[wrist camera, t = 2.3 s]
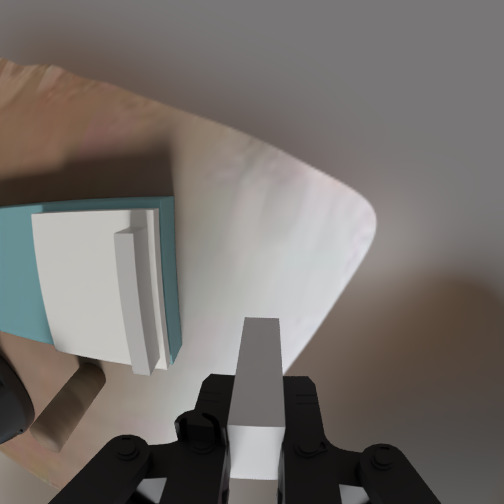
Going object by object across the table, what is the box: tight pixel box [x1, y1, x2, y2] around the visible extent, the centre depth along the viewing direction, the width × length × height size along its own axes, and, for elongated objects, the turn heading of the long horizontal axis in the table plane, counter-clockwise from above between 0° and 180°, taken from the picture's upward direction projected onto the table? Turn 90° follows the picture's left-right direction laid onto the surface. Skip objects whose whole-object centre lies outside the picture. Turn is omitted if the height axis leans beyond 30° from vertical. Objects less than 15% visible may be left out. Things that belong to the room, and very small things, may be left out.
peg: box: [30, 363, 106, 453], centre depth 21 cm, size 3×3×10 cm
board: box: [0, 196, 182, 364], centre depth 21 cm, size 20×12×3 cm, turn 89°
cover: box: [31, 208, 171, 376], centre depth 18 cm, size 10×11×3 cm
